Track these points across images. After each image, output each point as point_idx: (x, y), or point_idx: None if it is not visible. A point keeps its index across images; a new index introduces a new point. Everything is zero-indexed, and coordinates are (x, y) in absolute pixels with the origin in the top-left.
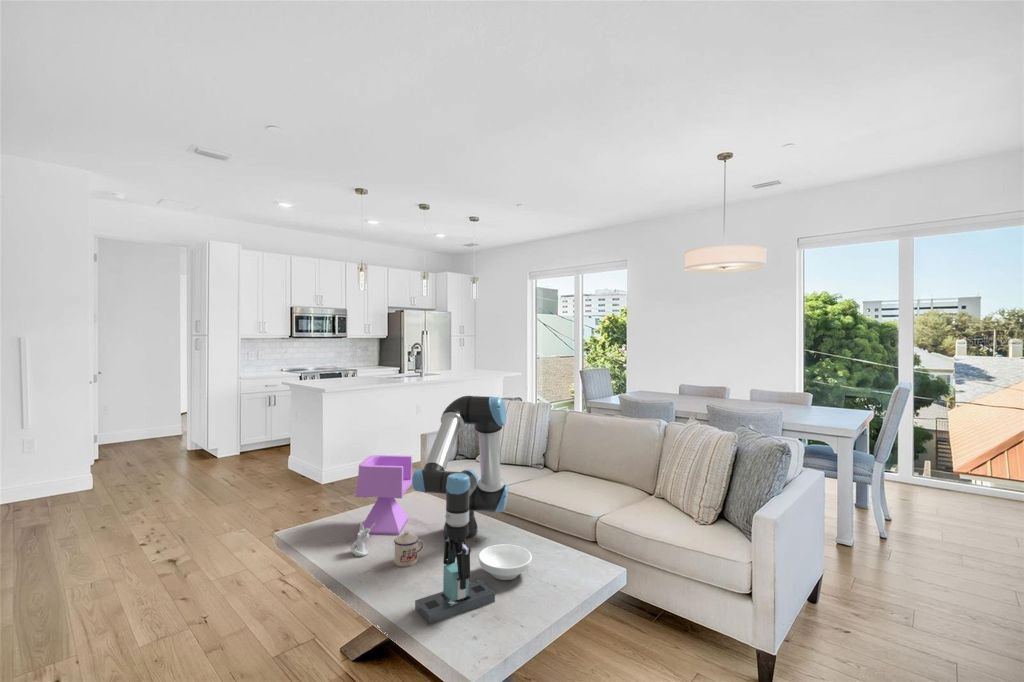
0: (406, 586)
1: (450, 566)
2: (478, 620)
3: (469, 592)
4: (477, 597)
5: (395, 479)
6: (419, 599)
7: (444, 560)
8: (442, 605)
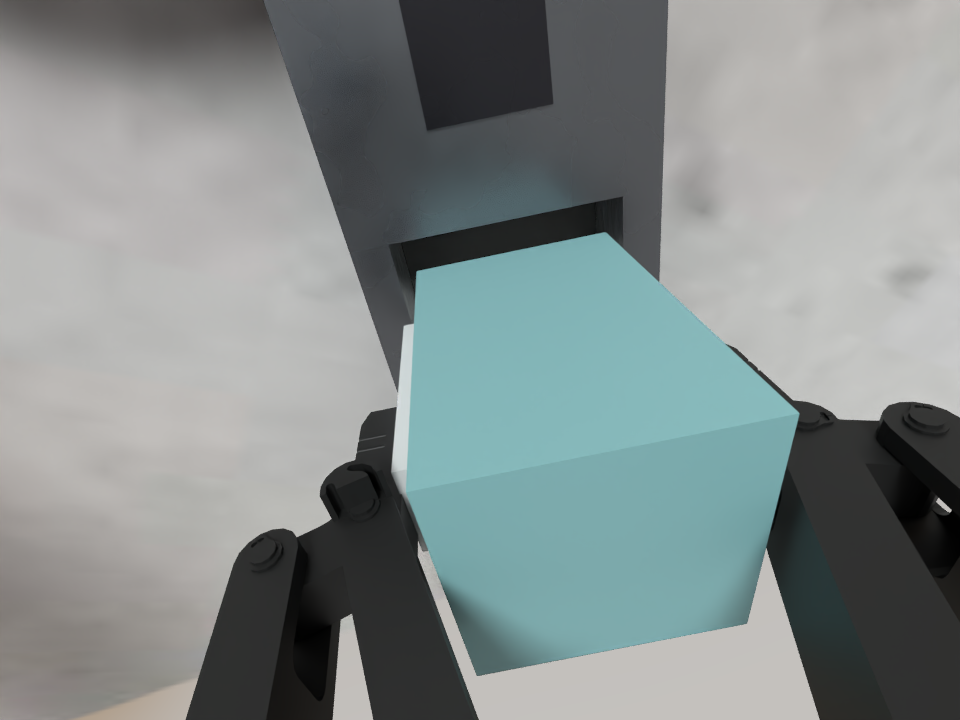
0: (154, 517)
1: (543, 623)
2: (781, 186)
3: (512, 180)
4: (644, 129)
5: None
6: None
7: (309, 663)
8: None
